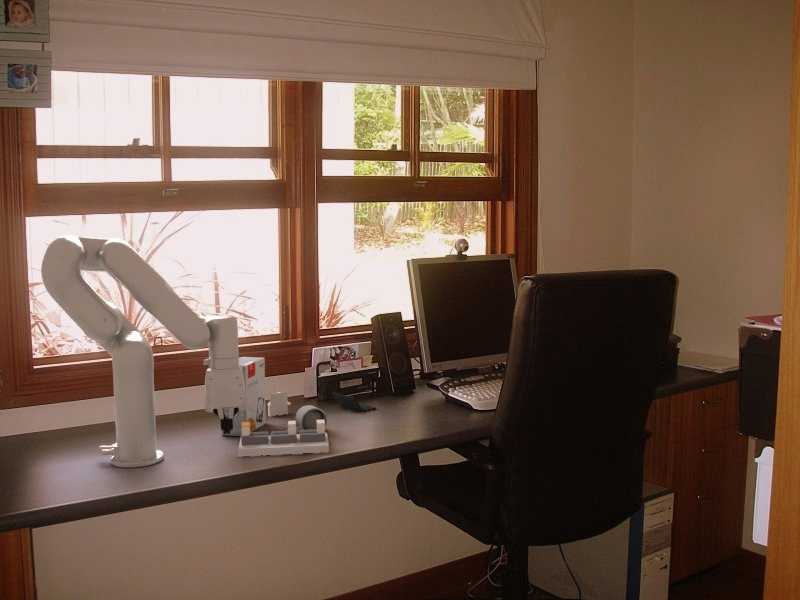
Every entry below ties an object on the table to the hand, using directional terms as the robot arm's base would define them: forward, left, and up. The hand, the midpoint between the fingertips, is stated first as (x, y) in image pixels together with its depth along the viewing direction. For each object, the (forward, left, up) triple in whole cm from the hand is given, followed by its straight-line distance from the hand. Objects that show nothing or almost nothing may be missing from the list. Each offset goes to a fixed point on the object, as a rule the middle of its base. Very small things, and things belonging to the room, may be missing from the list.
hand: (227, 432), depth 211 cm
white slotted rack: (+15, 0, -5) cm, 15 cm away
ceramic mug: (+21, +14, -5) cm, 26 cm away
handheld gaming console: (+36, +40, -5) cm, 54 cm away
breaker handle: (+5, 0, -1) cm, 5 cm away
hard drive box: (+3, +21, -5) cm, 22 cm away
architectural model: (+12, +37, -6) cm, 39 cm away
